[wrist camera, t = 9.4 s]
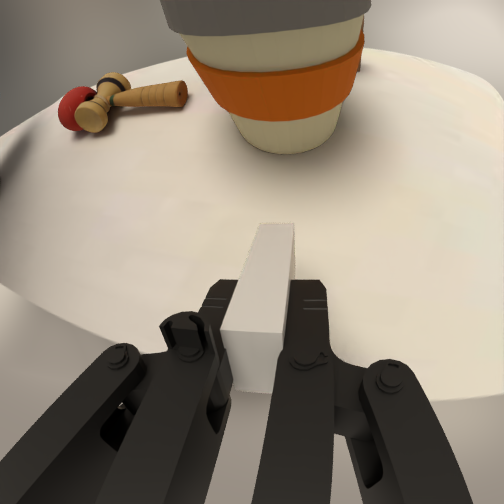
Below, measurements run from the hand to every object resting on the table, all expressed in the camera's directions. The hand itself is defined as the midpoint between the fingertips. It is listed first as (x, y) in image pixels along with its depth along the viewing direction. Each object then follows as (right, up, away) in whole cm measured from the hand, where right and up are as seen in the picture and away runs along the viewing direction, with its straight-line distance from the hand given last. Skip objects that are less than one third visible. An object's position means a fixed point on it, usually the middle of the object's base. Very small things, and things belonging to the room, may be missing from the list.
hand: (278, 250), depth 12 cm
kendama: (-17, +17, +15) cm, 28 cm away
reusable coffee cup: (+2, +12, +10) cm, 16 cm away
